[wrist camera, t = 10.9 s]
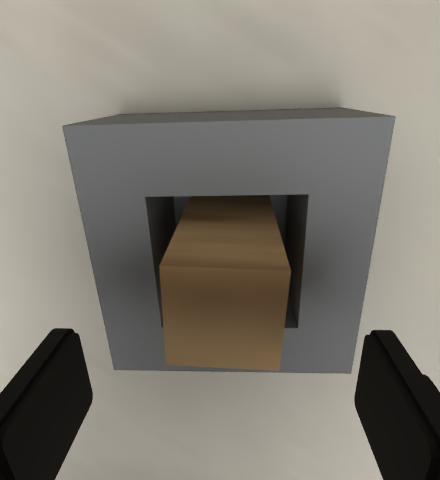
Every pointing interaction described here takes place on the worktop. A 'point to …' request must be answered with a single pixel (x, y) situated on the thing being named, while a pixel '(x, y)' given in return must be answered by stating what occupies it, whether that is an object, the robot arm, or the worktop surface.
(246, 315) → the peg
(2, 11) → the worktop surface
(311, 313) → the socket
